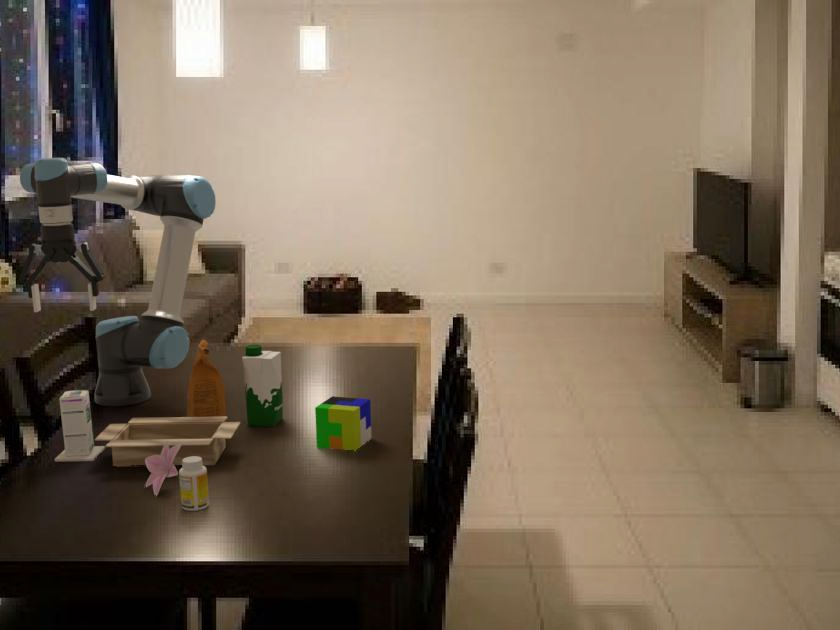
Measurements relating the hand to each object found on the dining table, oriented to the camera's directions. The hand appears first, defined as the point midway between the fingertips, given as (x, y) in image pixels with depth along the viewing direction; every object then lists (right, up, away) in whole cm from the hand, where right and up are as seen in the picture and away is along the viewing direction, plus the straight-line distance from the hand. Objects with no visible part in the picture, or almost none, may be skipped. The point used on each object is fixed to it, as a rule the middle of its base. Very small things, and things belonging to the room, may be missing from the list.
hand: (65, 310), depth 258 cm
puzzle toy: (+68, -32, -3) cm, 75 cm away
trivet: (+6, -34, -7) cm, 35 cm away
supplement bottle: (+40, -40, -41) cm, 70 cm away
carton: (+28, -34, -10) cm, 45 cm away
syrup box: (+6, -34, -7) cm, 35 cm away
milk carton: (+46, -29, +16) cm, 57 cm away
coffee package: (+32, -30, +12) cm, 46 cm away
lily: (+31, -38, -29) cm, 58 cm away
